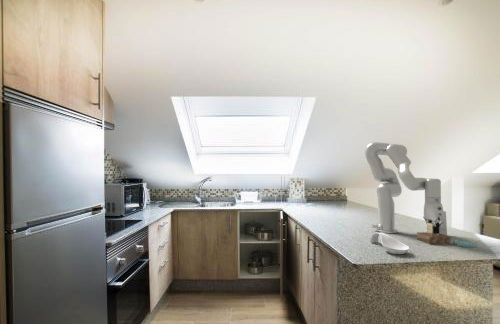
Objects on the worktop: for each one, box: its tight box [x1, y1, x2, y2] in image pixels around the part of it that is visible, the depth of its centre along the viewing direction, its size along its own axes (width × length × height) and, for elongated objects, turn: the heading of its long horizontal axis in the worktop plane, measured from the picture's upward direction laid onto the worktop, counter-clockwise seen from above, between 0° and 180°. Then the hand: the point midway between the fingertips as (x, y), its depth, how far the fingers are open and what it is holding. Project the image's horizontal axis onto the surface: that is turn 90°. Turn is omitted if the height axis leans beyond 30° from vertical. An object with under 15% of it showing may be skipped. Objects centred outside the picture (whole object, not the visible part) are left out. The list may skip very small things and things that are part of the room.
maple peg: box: [426, 223, 439, 236], centre depth 149 cm, size 4×4×10 cm
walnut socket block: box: [416, 231, 452, 245], centre depth 148 cm, size 12×10×4 cm
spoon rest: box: [369, 232, 410, 255], centre depth 135 cm, size 24×12×7 cm, turn 9°
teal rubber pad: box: [453, 240, 476, 249], centre depth 142 cm, size 9×9×1 cm
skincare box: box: [432, 210, 448, 236], centre depth 163 cm, size 8×7×16 cm
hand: (433, 232), depth 149 cm, fingers closed on maple peg, 4 cm apart
